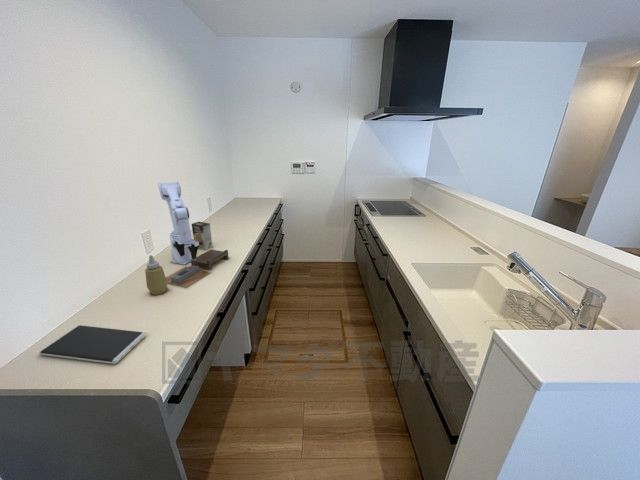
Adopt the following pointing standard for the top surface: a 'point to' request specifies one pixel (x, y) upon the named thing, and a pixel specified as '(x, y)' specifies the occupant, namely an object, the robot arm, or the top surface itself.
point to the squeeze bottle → (155, 277)
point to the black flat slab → (94, 344)
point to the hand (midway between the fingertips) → (188, 256)
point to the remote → (185, 274)
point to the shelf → (209, 258)
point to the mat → (189, 280)
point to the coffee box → (202, 234)
